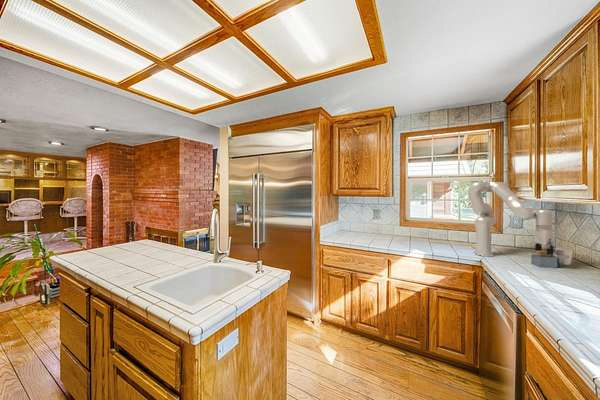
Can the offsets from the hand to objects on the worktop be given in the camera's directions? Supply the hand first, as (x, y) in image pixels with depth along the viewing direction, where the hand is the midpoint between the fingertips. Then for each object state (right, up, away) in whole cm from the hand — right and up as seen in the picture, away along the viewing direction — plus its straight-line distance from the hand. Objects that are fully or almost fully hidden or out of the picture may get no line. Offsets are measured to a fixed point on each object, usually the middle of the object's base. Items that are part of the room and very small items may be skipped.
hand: (543, 252), depth 153 cm
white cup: (+18, -9, +4) cm, 21 cm away
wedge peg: (0, -9, 0) cm, 9 cm away
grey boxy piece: (+4, -9, -1) cm, 10 cm away
